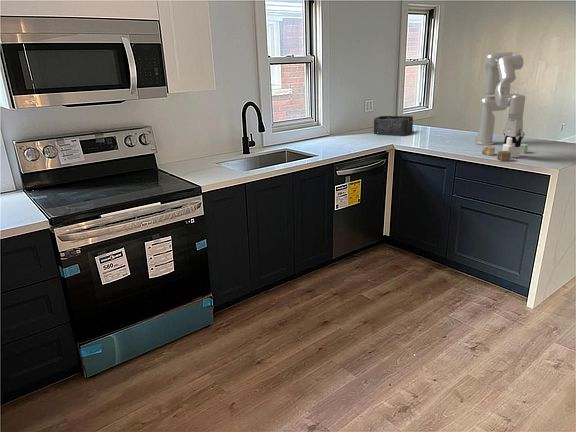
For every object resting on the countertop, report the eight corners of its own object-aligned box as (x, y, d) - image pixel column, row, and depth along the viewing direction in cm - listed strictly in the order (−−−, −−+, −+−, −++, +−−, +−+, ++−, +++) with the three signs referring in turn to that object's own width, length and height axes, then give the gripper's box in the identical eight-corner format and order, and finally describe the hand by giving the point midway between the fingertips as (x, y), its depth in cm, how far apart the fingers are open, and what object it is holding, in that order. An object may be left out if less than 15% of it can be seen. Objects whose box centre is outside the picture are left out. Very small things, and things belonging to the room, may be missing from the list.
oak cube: (481, 154, 264) (482, 146, 263) (487, 153, 266) (488, 145, 265) (488, 155, 260) (489, 147, 258) (494, 154, 262) (495, 146, 260)
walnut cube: (497, 159, 251) (498, 151, 249) (505, 159, 251) (506, 150, 249) (501, 161, 246) (502, 153, 244) (509, 160, 246) (510, 152, 244)
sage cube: (515, 152, 264) (516, 144, 262) (518, 151, 267) (519, 143, 265) (523, 153, 260) (524, 145, 259) (527, 152, 263) (528, 144, 262)
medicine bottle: (512, 154, 259) (515, 135, 254) (519, 157, 252) (522, 137, 248) (501, 155, 259) (503, 136, 254) (507, 158, 252) (510, 138, 248)
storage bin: (372, 134, 350) (372, 118, 345) (381, 131, 364) (381, 115, 360) (405, 136, 334) (406, 119, 330) (413, 132, 349) (414, 116, 345)
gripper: (500, 115, 254) (497, 143, 260) (520, 118, 238) (516, 148, 244) (511, 114, 255) (507, 142, 261) (531, 117, 239) (527, 147, 245)
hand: (512, 145), depth 252 cm, fingers open, 9 cm apart
